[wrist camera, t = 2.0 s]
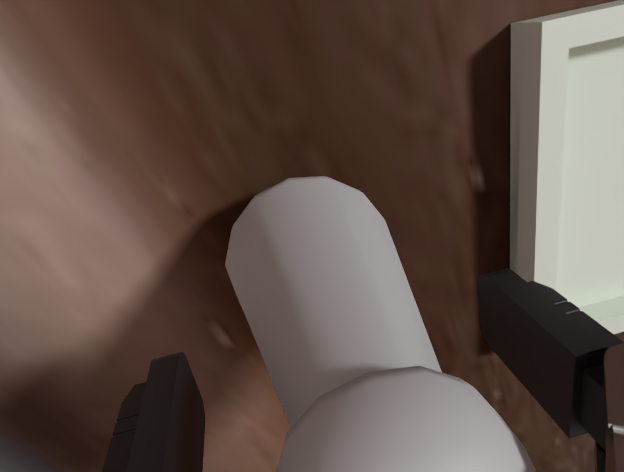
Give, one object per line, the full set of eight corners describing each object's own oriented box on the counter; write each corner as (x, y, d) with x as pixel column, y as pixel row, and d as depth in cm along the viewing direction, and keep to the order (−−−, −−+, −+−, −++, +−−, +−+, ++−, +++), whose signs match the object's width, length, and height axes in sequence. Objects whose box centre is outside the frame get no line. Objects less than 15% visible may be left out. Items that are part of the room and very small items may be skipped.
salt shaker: (349, 300, 20) (525, 678, 8) (216, 286, 19) (201, 717, 7) (385, 172, 18) (693, 435, 6) (240, 146, 16) (274, 419, 5)
